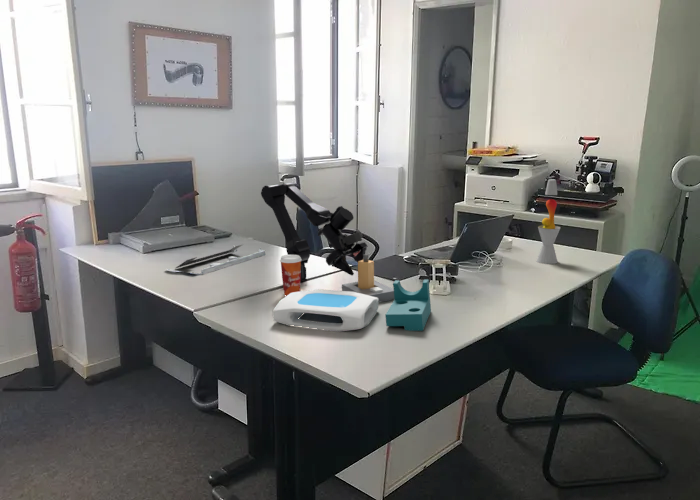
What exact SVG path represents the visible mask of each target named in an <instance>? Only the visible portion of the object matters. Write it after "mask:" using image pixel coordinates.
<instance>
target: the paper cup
mask: <svg viewBox="0 0 700 500" xmlns="http://www.w3.org/2000/svg"><path fill="white" fill-rule="evenodd" d="M301 260H302V259H301V257H300V256H299V255H288V254H285V255H282V256H281V257H280V259H279V262H280V267H281V268H280V269H281V279H282V288H283V296H284V295H286V296H287V295H289V294H290V293H292V292H299V291H301V281H300V275H301ZM286 296H285V297H286Z"/></svg>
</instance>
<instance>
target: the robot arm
mask: <svg viewBox="0 0 700 500" xmlns="http://www.w3.org/2000/svg"><path fill="white" fill-rule="evenodd" d="M260 195H261V198H262V199H263V201H264V203H265V204H266V205H267V206H268V207H270V208H271V210H272V211H273V214H274V215H275V217H276V220H277V222H278V225H279V226H280V229H281V231H282V234H283V236H284V239H285V240H286V248H285V249H286V250H285V251H286V255H299V256H300V257H301V259H302V260H301V275H300V282H305V281H308V278H307V267H306V264H308V262H309V258H310V256H311V250H310V249H311V247H310V246H309V243H308V240H307V239H302V238H300V236H299V234H298V231H297V230H296V227H295V225H294V223H293V221H292V218H291V216H290V213H289V212H288V210H287V208H286V205H285V202H286V201H285V200H286V197H287V198H288V199H289V200H290V201H292V202H293V203H294V204H295V205H296V206H297V207H298V208H300V209H301V211H303V212H304V213H305V214H306V216H305V217H306V219H308V221H309V223H310V224H311V225H312V226H314V227H320V226H323V227H320V228H318V232H317V236H318V237H322V236H323V237H325V239H326V240H327V241H328V243H329V245H328V247H329V248H330V249H334V250H332V251H331V252H330V253H329V254H328V255H327V257H325V263H326V264H327V265H328V266H329V267H330V266H331V267H333V268H336V269H338V270H341V271H343V272H344V273H345V274H348V275H350V276H354V274H355V273H354V270H353V269H352V268H351V265H349V263H348V261H347V256H350V255H351V257H353V258H352V259H353V260H354V261H355V262H357V263H358V261H361V260H363V255H364V254H366V251H367V250H368V246H369V245H367V243H366V242H365V241H363V239H362V238H363V236H364V235H363V233H362V231H360V230H359V229H358V230H354V231H353V232H352V233H351V234H349V235H348V234H347V233H345V234H343V232H342V231H343V230H345V229H346V228H347V227H348V226H349V224H350V223H351V222H352V221H353V220H354V214H353V213H352V211H350V210H349V209H347V208H345V207H344V206H343V205H340V206H338V207H337V208H336V209H335V210H334V211H333V212H331V211H330V209H328V208H326V207H324V206H322V205H320V204H317V203H315V202H314V201H312V200H311V199H310V198H309V197H308V196H306V194H304V193H303V192H302V191H301V189H299V188H298V187H296V185H295V184H294V183H293V182H284V183H283V184H278V183H276V184H268V185H267V184H266V185H264V186H263V187H262V188H261V191H260ZM357 242H358V243H357ZM355 243H356V244H355Z"/></svg>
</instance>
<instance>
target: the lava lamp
mask: <svg viewBox="0 0 700 500" xmlns="http://www.w3.org/2000/svg"><path fill="white" fill-rule="evenodd" d="M544 195H545V196H558V186H557V180H556V179H554V178H553V179H552V178H551V179H550V178H549V179H548V180H547V184H546V188H545V194H544ZM545 202H546V203H545V206H546V208H547V211H548V215H549V216H548V217H543V219H542V220H541V225H538V226H537V228H538V229H537V230H538V232H539V236H540V239H541V243H542V245H541V248H540V251H539V252H538V255H537V258H536V260H535V261H536V262H537V263H539V264H545V265H554V264H558V259H557V253H556V250H555V245H554V244H555V242H556V239H557V236H558V235H559V232H560V230H561V226H560V225H559V226H558V225H555V212H556V209H557V205H558V203H557V201H556V200H555V199H553V198H552V199H551V198H549V199H548V200H546V201H545Z"/></svg>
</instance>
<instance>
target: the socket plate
mask: <svg viewBox="0 0 700 500" xmlns="http://www.w3.org/2000/svg"><path fill="white" fill-rule="evenodd" d="M341 291H351V292H357V293H361V294H365V295H369V296H373V297H377V298H378V303H381V302H387V301H394V300H395V299H394V288H393V287H390V286H388V285H386V284H384V283H381V282H380V281H378V280H375V279H374V288H369V289H363V290H362V289H360V288H358V281H355V282H348V283H341Z"/></svg>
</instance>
